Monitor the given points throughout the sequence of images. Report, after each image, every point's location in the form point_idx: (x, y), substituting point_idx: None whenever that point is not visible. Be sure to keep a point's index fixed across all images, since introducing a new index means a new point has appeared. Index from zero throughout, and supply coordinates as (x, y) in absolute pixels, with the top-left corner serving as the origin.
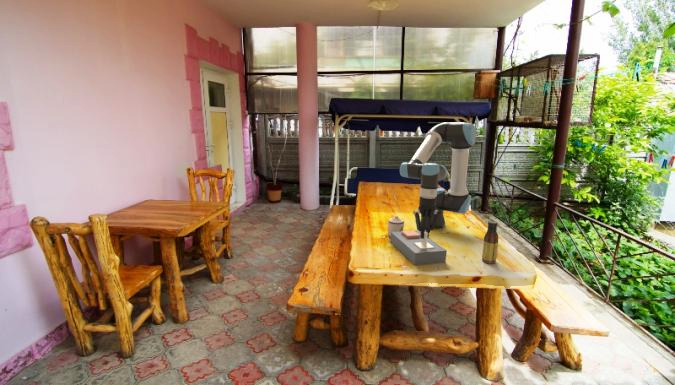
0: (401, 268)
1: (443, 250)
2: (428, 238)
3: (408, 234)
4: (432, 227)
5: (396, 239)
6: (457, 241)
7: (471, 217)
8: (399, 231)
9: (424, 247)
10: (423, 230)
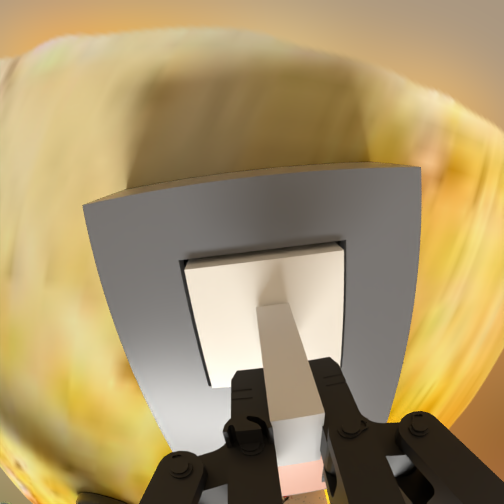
0: (447, 140)
1: (111, 206)
2: (172, 435)
3: (315, 465)
4: (178, 501)
5: None
6: (33, 414)
7: (20, 488)
8: (288, 497)
9: (294, 270)
10: (365, 440)
